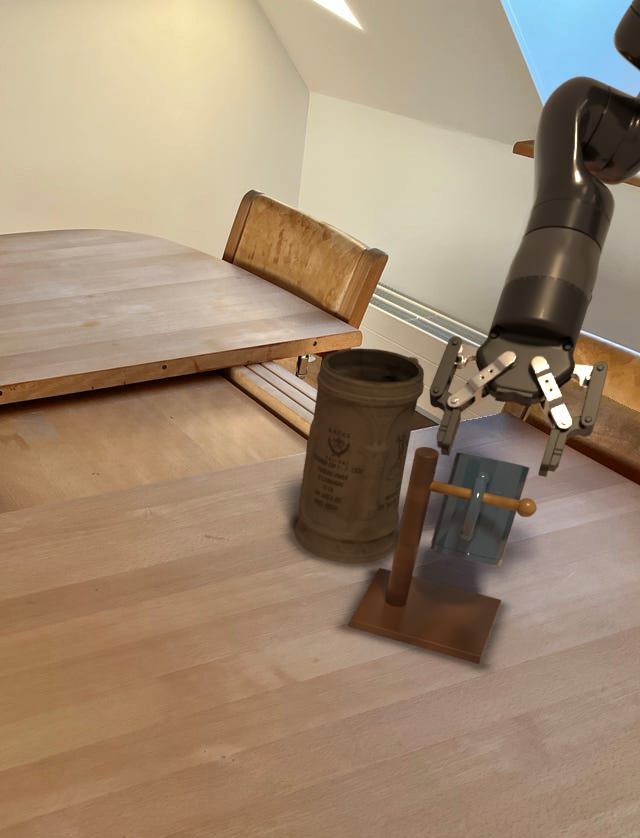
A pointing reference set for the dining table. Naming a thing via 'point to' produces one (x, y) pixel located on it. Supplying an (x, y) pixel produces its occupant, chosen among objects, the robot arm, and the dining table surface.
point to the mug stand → (424, 600)
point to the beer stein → (357, 454)
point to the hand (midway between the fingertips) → (493, 462)
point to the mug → (478, 509)
